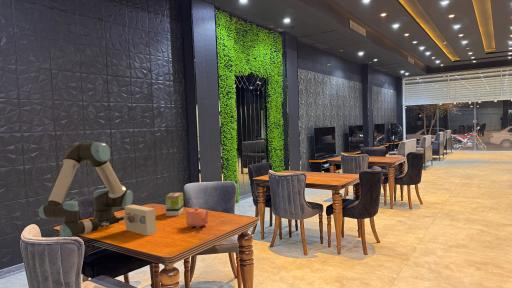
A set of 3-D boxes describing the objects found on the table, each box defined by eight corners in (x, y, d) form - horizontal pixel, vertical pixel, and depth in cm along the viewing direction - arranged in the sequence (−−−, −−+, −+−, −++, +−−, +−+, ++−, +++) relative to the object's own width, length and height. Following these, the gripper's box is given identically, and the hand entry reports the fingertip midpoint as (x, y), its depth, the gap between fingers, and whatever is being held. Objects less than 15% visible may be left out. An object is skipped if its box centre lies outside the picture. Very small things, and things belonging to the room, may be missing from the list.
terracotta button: (125, 219, 227) (125, 212, 227) (128, 219, 228) (127, 212, 228) (129, 220, 224) (128, 213, 224) (131, 220, 225) (131, 213, 225)
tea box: (179, 215, 261) (178, 195, 260) (165, 216, 261) (164, 196, 261) (184, 211, 276) (183, 191, 275) (171, 211, 276) (170, 192, 276)
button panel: (125, 229, 229) (124, 206, 228) (134, 227, 234) (133, 204, 233) (147, 235, 214) (146, 210, 213) (156, 233, 218) (154, 208, 218)
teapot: (180, 227, 230) (179, 208, 229) (192, 222, 240) (191, 204, 239) (204, 230, 219) (203, 211, 219) (216, 225, 229) (215, 207, 229)
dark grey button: (139, 223, 217) (139, 216, 216) (142, 222, 218) (141, 215, 218) (143, 224, 214) (143, 217, 214) (146, 223, 215) (145, 216, 215)
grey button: (128, 222, 220) (128, 215, 219) (131, 221, 221) (130, 214, 221) (132, 223, 217) (132, 216, 217) (135, 222, 218) (134, 215, 218)
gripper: (84, 230, 211) (121, 221, 229) (95, 233, 203) (133, 224, 221) (83, 217, 211) (121, 209, 229) (94, 220, 203) (132, 212, 221)
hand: (126, 217), depth 225 cm, fingers closed
